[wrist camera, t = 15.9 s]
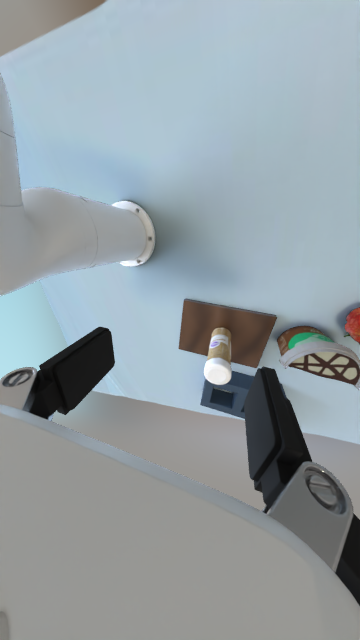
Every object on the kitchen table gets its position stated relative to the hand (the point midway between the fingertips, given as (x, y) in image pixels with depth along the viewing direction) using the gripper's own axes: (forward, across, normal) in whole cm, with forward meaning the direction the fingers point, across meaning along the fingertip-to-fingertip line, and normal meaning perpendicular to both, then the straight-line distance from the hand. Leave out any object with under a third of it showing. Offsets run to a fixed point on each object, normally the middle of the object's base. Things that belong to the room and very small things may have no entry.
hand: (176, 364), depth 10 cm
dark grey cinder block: (+28, -12, +29) cm, 42 cm away
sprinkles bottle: (+27, -4, +13) cm, 31 cm away
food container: (+28, -21, +9) cm, 37 cm away
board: (+28, -4, +13) cm, 31 cm away
